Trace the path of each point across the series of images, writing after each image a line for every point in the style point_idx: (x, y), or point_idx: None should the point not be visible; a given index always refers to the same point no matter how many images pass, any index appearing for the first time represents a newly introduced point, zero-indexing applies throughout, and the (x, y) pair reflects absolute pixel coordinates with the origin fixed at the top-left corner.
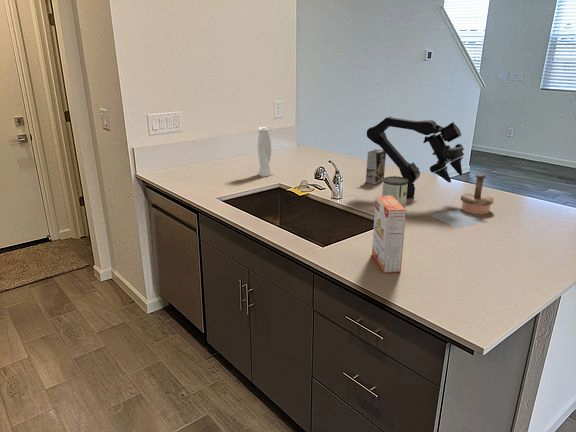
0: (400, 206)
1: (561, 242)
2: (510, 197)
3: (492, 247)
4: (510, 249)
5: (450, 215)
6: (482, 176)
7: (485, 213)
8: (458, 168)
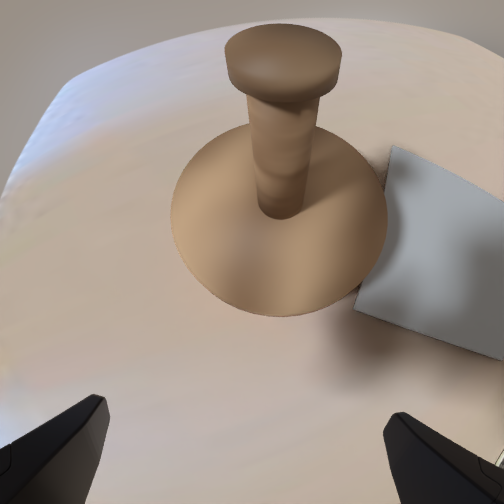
0: None
1: (344, 25)
2: (16, 210)
3: (498, 111)
4: (472, 85)
5: (454, 285)
6: (318, 32)
7: None
8: (62, 478)
